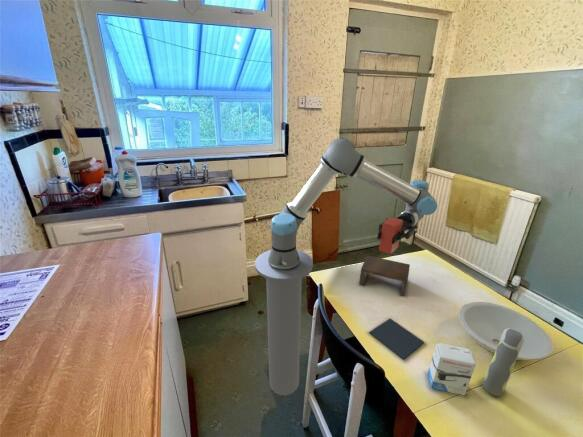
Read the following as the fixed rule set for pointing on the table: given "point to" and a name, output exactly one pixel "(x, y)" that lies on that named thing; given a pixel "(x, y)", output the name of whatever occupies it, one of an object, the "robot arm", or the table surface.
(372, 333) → the mat
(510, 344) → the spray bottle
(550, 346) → the soup bowl
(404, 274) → the shelf
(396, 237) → the robot arm
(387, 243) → the block
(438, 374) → the ink box
